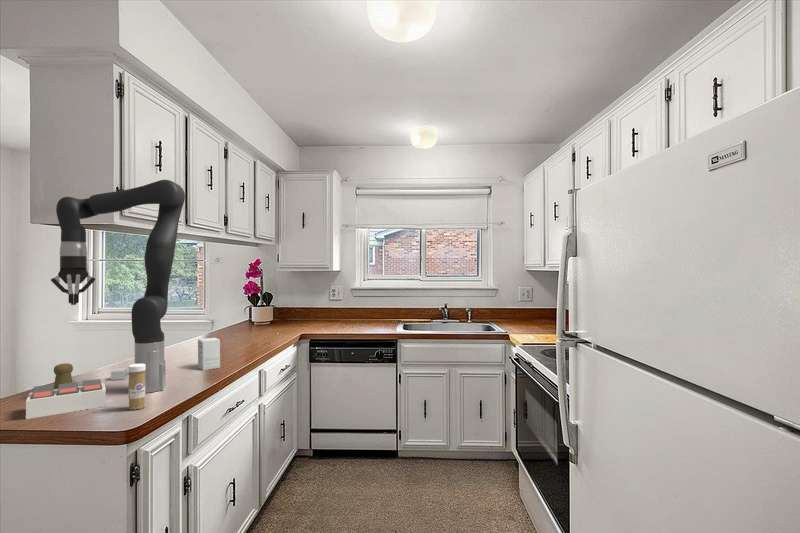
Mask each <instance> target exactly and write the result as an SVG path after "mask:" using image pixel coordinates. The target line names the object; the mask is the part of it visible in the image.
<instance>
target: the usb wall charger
mask: <svg viewBox="0 0 800 533" xmlns="http://www.w3.org/2000/svg"><path fill="white" fill-rule="evenodd" d="M110 378H111V379H110V380H111V381H124V379H125V380H126V379H127V378H129V372H128V367H120V368H113V369H112V370H111V371H110Z"/></svg>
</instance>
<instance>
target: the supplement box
mask: <svg viewBox="0 0 800 533" xmlns="http://www.w3.org/2000/svg"><path fill="white" fill-rule="evenodd" d="M197 367H198V369H200V370H202V371H209V370H214V369H221V339H219V338H217V337H208V338H198V339H197Z"/></svg>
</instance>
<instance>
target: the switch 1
mask: <svg viewBox="0 0 800 533" xmlns="http://www.w3.org/2000/svg"><path fill="white" fill-rule="evenodd" d="M53 391H54V383H53V384H47V385H46V384H44V385H37V386H33V388H32V392H31V393H32V399H37V398H44V397H51V396H53Z"/></svg>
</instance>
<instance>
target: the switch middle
mask: <svg viewBox="0 0 800 533" xmlns="http://www.w3.org/2000/svg"><path fill="white" fill-rule="evenodd" d="M72 382H73V381H72ZM78 387H79V381H75V382H73V383H65V384H59V387H58V396H59V395H66V394H73V393H78Z"/></svg>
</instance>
